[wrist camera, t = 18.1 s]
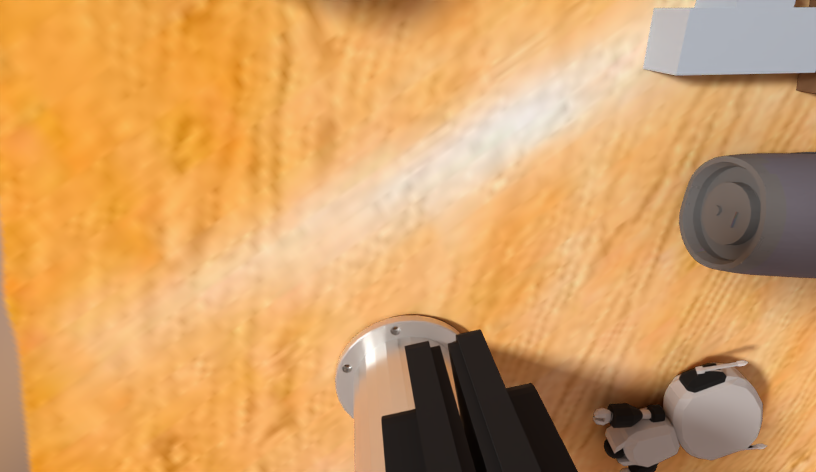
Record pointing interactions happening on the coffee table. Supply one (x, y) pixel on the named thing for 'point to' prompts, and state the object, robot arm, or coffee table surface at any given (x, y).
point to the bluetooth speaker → (753, 214)
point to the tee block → (733, 38)
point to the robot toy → (686, 419)
